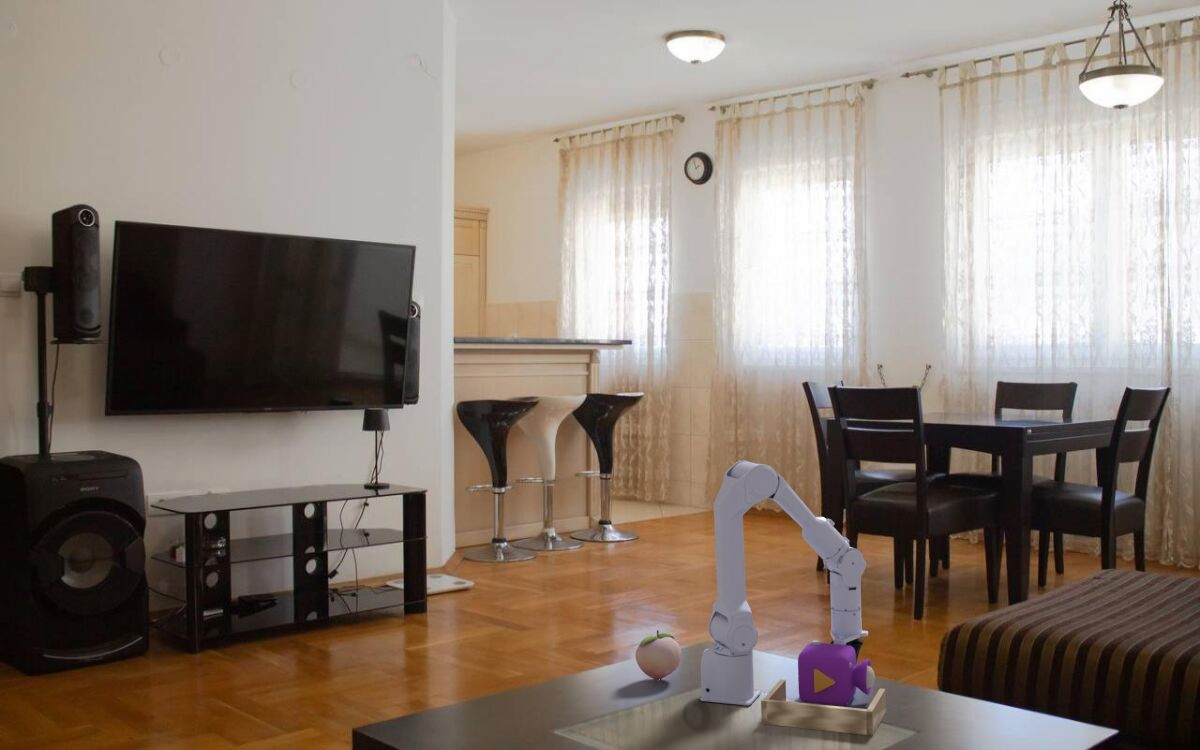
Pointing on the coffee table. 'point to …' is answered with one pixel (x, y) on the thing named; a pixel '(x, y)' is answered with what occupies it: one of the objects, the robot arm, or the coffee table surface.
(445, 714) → the coffee table surface
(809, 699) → the toy camera
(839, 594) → the robot arm
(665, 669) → the decorative fruit
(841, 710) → the wooden tray
